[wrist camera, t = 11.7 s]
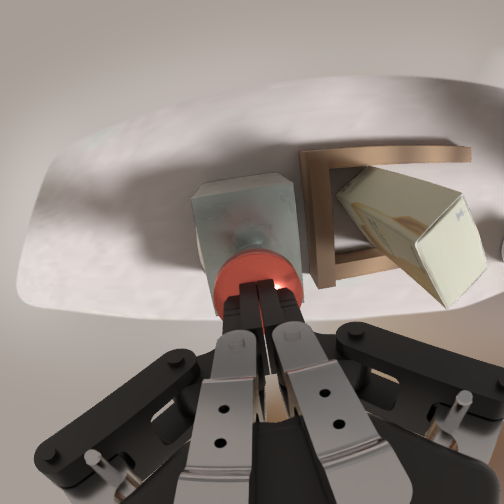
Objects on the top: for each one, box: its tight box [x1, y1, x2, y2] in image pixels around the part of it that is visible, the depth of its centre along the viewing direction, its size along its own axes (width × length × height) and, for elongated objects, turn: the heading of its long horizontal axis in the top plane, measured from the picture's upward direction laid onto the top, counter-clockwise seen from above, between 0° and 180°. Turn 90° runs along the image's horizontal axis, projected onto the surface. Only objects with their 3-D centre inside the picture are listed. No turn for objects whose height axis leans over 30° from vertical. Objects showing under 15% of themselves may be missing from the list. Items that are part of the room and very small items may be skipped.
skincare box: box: [336, 166, 488, 309], centre depth 19 cm, size 6×4×12 cm
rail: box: [298, 145, 471, 289], centre depth 23 cm, size 18×11×3 cm, turn 98°
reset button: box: [213, 244, 303, 334], centre depth 15 cm, size 4×4×4 cm
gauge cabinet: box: [191, 172, 304, 316], centre depth 21 cm, size 6×8×7 cm
